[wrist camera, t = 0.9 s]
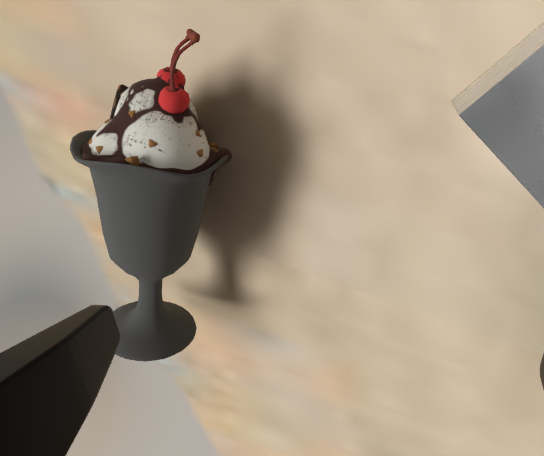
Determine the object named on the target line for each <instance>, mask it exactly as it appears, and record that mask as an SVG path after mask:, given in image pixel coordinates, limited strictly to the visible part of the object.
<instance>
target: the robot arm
mask: <svg viewBox="0 0 544 456" xmlns="http://www.w3.org/2000/svg"><path fill="white" fill-rule="evenodd" d="M119 342H120V331H119V328H118V325H117V322H116V319H115V316H114V313H113V310H112V309H111V308H110V307H109V306H105V305H91V306H89V307H87V308H85V309H83V310H81V311H79V312H77V313H76V314H74V315H72V316H70V317H68V318H66V319H64V320H62V321H60V322H58V323H57V324H55V325H53V326H51V327H49V328H47V329H45V330H43V331H41V332H39V333H38V334H36V335H34V336H32V337H30V338H28V339H26V340H24V341H22V342H20V343H19V344H17V345H15V346H13V347H11V348H9V349H7V350H5V351H3V352H2V353H0V456H65V455H66V454H67V452H68V450H69V448H70V446H71V444H72V443H73V441H74V439H75V437H76V435H77V434H78V432H79V430H80V428H81V426H82V424H83V423H84V420H85V419H86V417H87V415H88V413H89V411H90V409H91V407H92V406H93V403H94V401H95V399H96V397H97V395H98V393H99V390H100V388H101V385H102V383H103V381H104V378H105V376H106V374H107V371H108V369H109V367H110V364H111V362H112V359H113V357H114V355H115V352H116V350H117V348H118V345H119ZM540 377H541V382H542V385H543V389H544V353H543V357H542V361H541V364H540Z"/></svg>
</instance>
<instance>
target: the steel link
mask: <svg viewBox="0 0 544 456" xmlns="http://www.w3.org/2000/svg"><path fill="white" fill-rule="evenodd" d="M451 102H452V104H453V105H454V107H455V109H456V111H457V113H458V115H459V116H460V117H461V118H462V119H463V120H464V122H465V123H466V124H467V125H468V126H469V127H470V128H471V129H472V130H473V131H474V132H475V134H476V135H477V136H478V137H479V138H480V139H481V140H482V141H483V142H484V143H485V145H486V146H487V147H488V148H489V149H490V150H491V151H492V152H493V153H494V154H495V155H496V157H497V158H498V159H499V160H500V161H501V162H502V163H503V164H504V165H505V166H506V167H507V169H508V170H509V171H510V172H511V173H512V174H513V175H514V176H515V177H516V178H517V179H518V181H519V182H520V183H521V184H522V185H523V186H524V187H525V188H526V189H527V190H528V192H529V193H530V194H531V195H532V196H533V197H534V198H535V199H536V200H537V201H538V202H539V204H540V205H541V206H542V207H543V208H544V22H543V23H542V24H541V25H540V26H539V27H537V28H536V29H535V30H534V31H533V32H532V33H530V34H529V35H528V36H527V37H526V38H525V39H523V40H522V41H521V42H520V43H519V44H518V45H516V46H515V47H514V48H513V49H512V50H510V51H509V52H508V53H507V54H506V55H505V56H503V57H502V58H501V59H500V60H499V61H498V62H496V63H495V64H494V65H493V66H492V67H491V68H489V69H488V70H487V71H486V72H485V73H484V74H482V75H481V76H480V77H479V78H478V79H477V80H475V81H474V82H473V83H472V84H471V85H470V86H468V87H467V88H466V89H465V90H464V91H463V92H461V93H460V94H459V95H458V96H457V97H455V98H454V99H453V100H452V101H451Z"/></svg>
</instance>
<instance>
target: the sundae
mask: <svg viewBox="0 0 544 456" xmlns="http://www.w3.org/2000/svg"><path fill="white" fill-rule="evenodd" d="M189 40H191V41H190V42H189V43H188V44H187V45H186V46H184V47H183V48H182V49H180V47H181V46H182V45H183V44H185V43H186V42H188V41H189ZM199 40H200V35H199V34H198V33H196V32H195V31H193V30H192V29H188V30H187V36H186V38H185V39H184V40H183V41H182V42H180V44H179V45H178V46H177V47H176V49H175V51H174V53H173V56H172V59H171V65H170V67H166V68H164V69H161V70H159V72H158V74H157V78H155V79H146V80H142V81H139V82H136V83H134V84H132V85H131V86H130V87H127V86H125V85H123V84H122V85H119V86H118V89H117V92H116V96H115V99H114V103H113V108H112V112H111V116H110V119H109V120H107V121H105V124H104V125H102V126H101V127H100V128H99V129H98V130H91V131H84V132H81V133H78V134H77V135H76V136H74V137H73V138H72V141H71V144H70V151H71V153H72V155H73V158H74V159H75V160H76V161H77V162H79V163H81V164H83V165H85V166H87V167H89V168H90V172H91V176H92V179H93V183H94V187H95V191H96V196H97V201H98V207H99V213H100V219H101V225H102V230H103V235H104V238H105V242H106V246H107V249H108V253H109V256H110V258H111V260H112V261H113V262H114V263H115V264H116V265H118V266H119V267H120V268H121V269H122V270H124V271H125V272H126V273H128V274H130V275H132V276H135V277H136V278H137V279H138V280H139V299H138V301H136V302H133V303H129V304H126V305H124V306H121V307H119V308H118V309H116V310H115V311H113V313H114V316H115V319H116V322H117V325H118V328H119V331H120V342H119V345H118V348H117V350H116V352H115V354H116V355H118V356H120V357H123V358H125V359H130V360H136V361H153V360H160V359H165V358H167V357H170V356H172V355H175V354H176V353H178V352H180V351H182V350H183V349H184V348H186V347H187V346H188V345H189V344H190V343H191V341H192V340H193V338H194V336H195V333H196V324H195V321H194V319H193V317H192V315H191V314H190V313H189V312H188V311H187V310H185V309H184V308H183V307H181V306H178V305H176V304H173V303H170V302H165V301H163V300H162V279H163V278H164V277H166V276H169V275H171V274H173V273H174V272H175V271H177V270H178V269H179V268H180V267H181V266H182V265H184V264H185V263H186V262H187V261H188V260H189V258H190V256H191V253H192V250H193V247H194V244H195V241H196V238H197V235H198V231H199V226H200V222H201V217H202V213H203V208H204V203H205V199H206V194H207V190H208V186H210V185H211V183H212V181H213V177H214V174H215V172H216V171H217V169H218V168H219V167H221V166H222V165H224V164H225V163H227V162H229V161H230V160H231V158H232V154H231V152H230V151H228V150H226V149H223V148H219V147H218V145H217V144H215V143H213V142H211V143H209V142H208V141H207V137H206V135H205V132H204V129H203V127H202V126H201V124H200V123H199V121H198V117H197V113H196V110H195V107H194V105H193V103H192V101H191V100H190V98H189V95H188V93H187V92H186V91H185V90H184V85H185V80H186V79H185V76H184V75H183V74H182V72H181V71H180V70H178V69H176V68H175V67H176V63H177V61H178V58H179V56H180V55H181V53H182V52H183V51H185V50H186V49H187V48H188V47H190V46H191V45H193V44H194V43H196V42H199ZM179 49H180V50H179Z"/></svg>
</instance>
